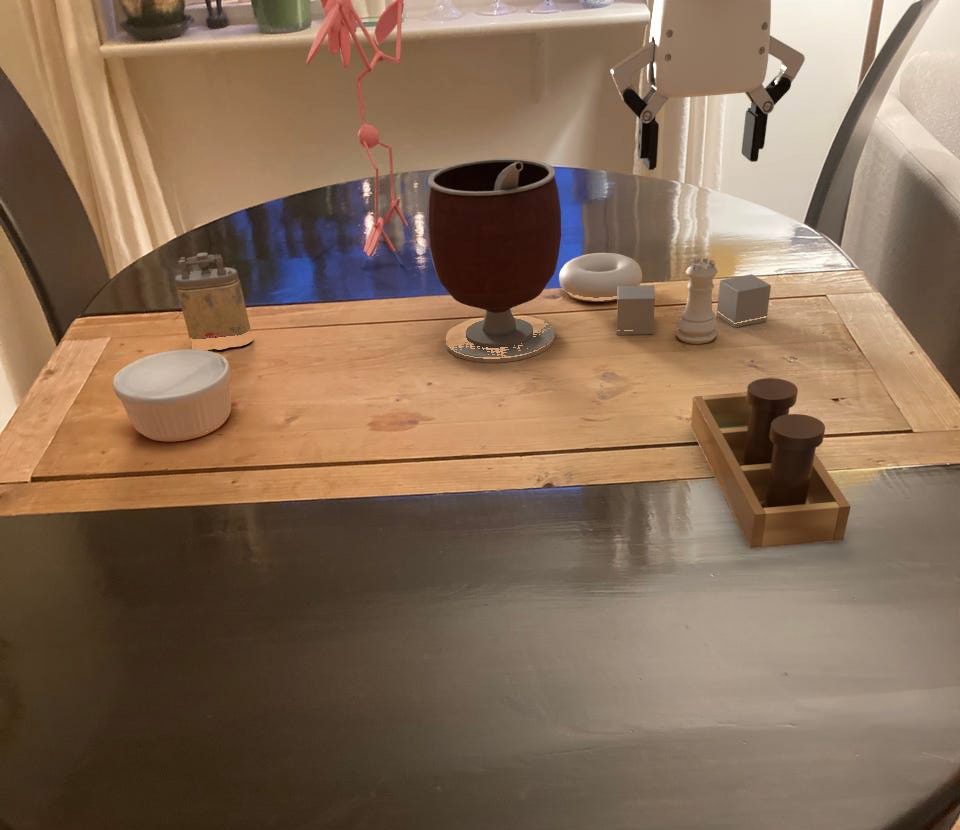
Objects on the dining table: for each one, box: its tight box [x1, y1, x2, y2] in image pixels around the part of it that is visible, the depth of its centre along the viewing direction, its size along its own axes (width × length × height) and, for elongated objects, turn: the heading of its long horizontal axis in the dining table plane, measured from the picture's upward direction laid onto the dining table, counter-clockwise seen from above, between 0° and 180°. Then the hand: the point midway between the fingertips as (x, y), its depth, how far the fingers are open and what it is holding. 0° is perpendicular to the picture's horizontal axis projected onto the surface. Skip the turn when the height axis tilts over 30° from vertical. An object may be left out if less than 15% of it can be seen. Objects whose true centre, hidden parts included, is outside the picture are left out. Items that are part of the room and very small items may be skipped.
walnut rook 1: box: [739, 377, 799, 466], centre depth 77 cm, size 4×4×8 cm
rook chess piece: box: [675, 257, 719, 345], centre depth 101 cm, size 4×4×8 cm
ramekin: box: [112, 348, 232, 443], centre depth 94 cm, size 11×11×5 cm
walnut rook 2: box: [761, 413, 826, 508], centre depth 72 cm, size 4×4×8 cm
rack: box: [690, 391, 851, 549], centre depth 79 cm, size 7×20×4 cm, turn 3°
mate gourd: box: [425, 157, 562, 364], centre depth 99 cm, size 16×14×20 cm
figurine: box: [305, 0, 409, 257], centre depth 121 cm, size 15×26×35 cm, turn 170°
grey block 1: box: [616, 284, 656, 336], centre depth 105 cm, size 4×4×4 cm
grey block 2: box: [716, 273, 772, 329], centre depth 106 cm, size 4×4×4 cm
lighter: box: [174, 252, 251, 339], centre depth 107 cm, size 7×4×10 cm, turn 99°
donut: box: [558, 252, 643, 303], centre depth 115 cm, size 10×4×10 cm
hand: (699, 162), depth 91 cm, fingers open, 9 cm apart
